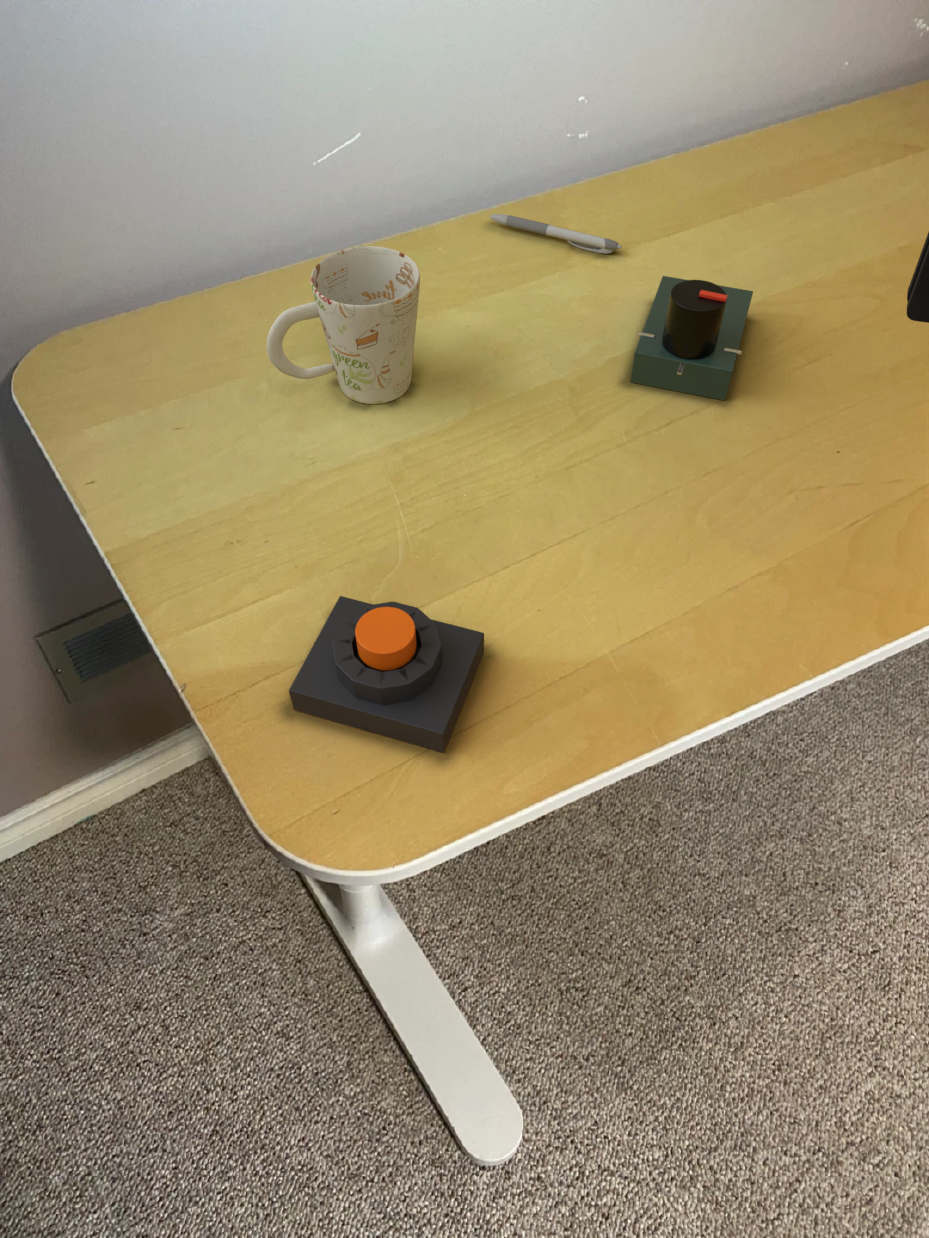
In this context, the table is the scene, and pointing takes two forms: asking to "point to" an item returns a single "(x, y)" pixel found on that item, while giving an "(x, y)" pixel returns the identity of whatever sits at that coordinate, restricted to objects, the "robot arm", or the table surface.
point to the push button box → (390, 678)
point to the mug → (359, 322)
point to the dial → (694, 319)
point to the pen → (560, 233)
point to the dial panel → (690, 374)
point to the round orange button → (386, 638)
